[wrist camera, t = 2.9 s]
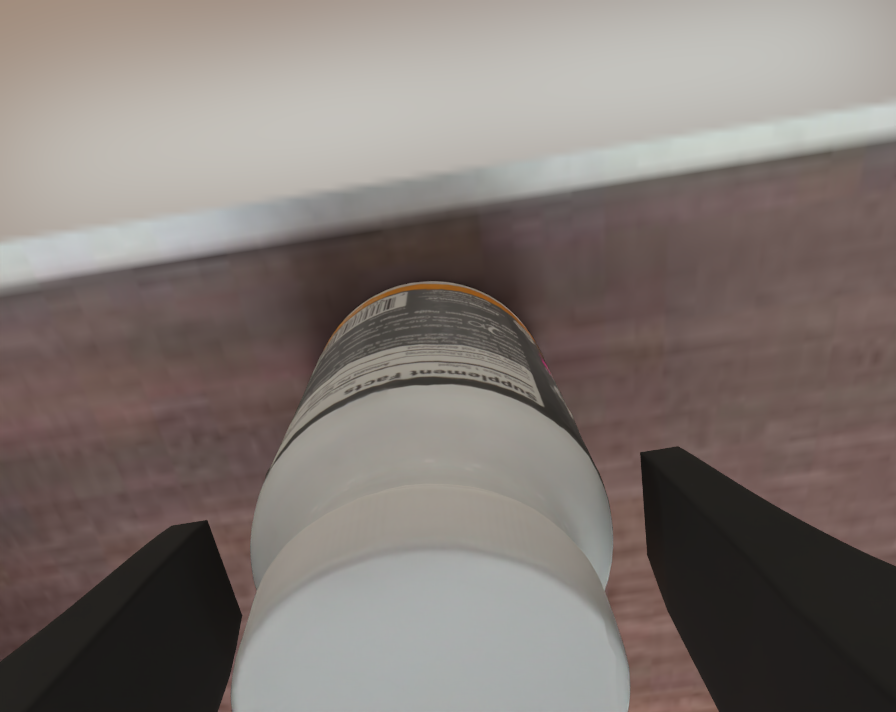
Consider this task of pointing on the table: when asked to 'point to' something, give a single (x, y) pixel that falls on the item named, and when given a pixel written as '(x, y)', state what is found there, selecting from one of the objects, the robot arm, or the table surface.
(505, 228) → the table surface
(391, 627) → the pill bottle
